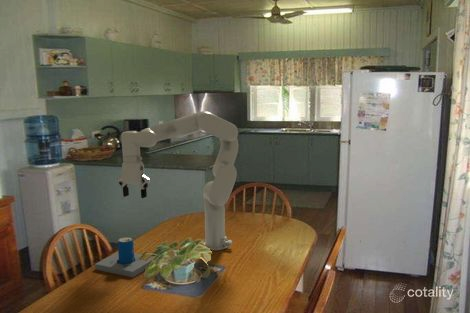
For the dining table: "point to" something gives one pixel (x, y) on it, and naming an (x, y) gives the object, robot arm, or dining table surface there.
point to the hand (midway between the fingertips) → (135, 196)
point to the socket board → (123, 265)
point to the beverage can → (126, 250)
